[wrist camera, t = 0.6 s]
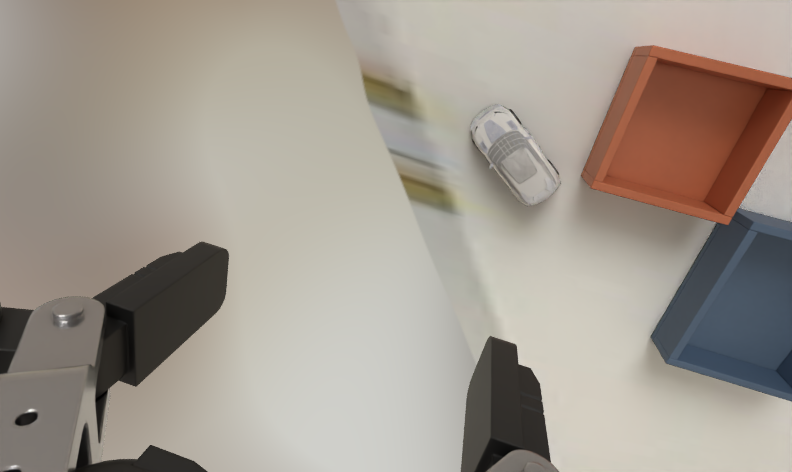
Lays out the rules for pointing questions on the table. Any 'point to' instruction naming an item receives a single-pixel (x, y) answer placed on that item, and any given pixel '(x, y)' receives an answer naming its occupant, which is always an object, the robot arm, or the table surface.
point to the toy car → (514, 155)
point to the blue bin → (736, 307)
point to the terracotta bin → (688, 132)
